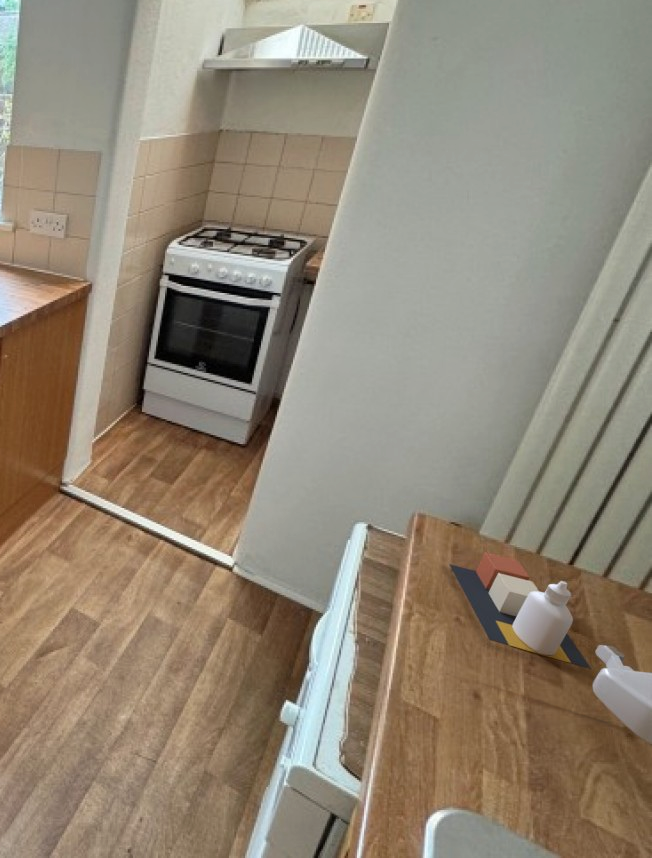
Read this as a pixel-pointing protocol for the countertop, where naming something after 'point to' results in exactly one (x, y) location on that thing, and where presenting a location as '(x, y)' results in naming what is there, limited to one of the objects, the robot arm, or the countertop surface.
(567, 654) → the word mat
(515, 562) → the terracotta letter block
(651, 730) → the robot arm
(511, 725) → the countertop surface
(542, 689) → the countertop surface
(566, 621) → the eye dropper bottle
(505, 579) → the cream cube
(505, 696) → the countertop surface
